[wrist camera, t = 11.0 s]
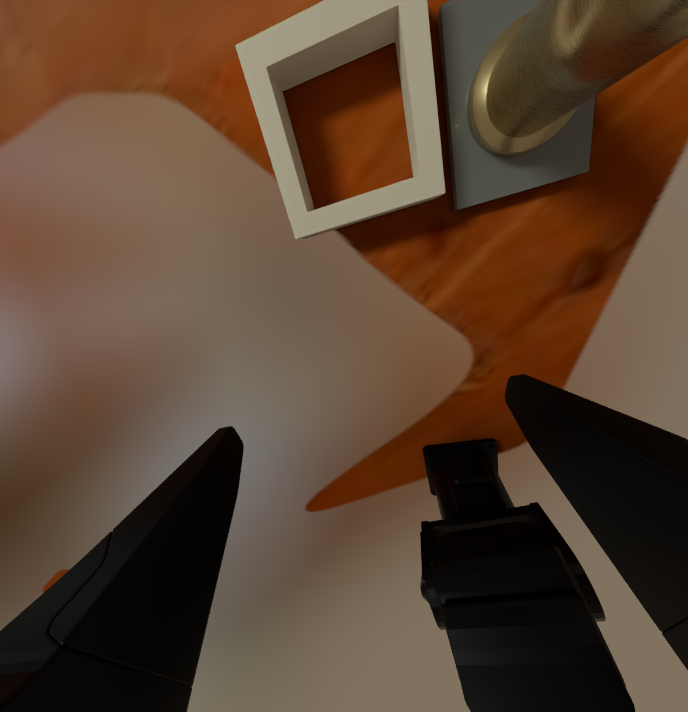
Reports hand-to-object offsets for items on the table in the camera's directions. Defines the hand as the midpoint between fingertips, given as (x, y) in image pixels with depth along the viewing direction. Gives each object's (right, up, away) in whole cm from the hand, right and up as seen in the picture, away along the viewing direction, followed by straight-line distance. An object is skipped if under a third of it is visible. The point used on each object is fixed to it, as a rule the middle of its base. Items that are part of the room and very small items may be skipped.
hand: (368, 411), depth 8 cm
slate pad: (+8, +16, +6) cm, 19 cm away
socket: (0, +15, +7) cm, 17 cm away
